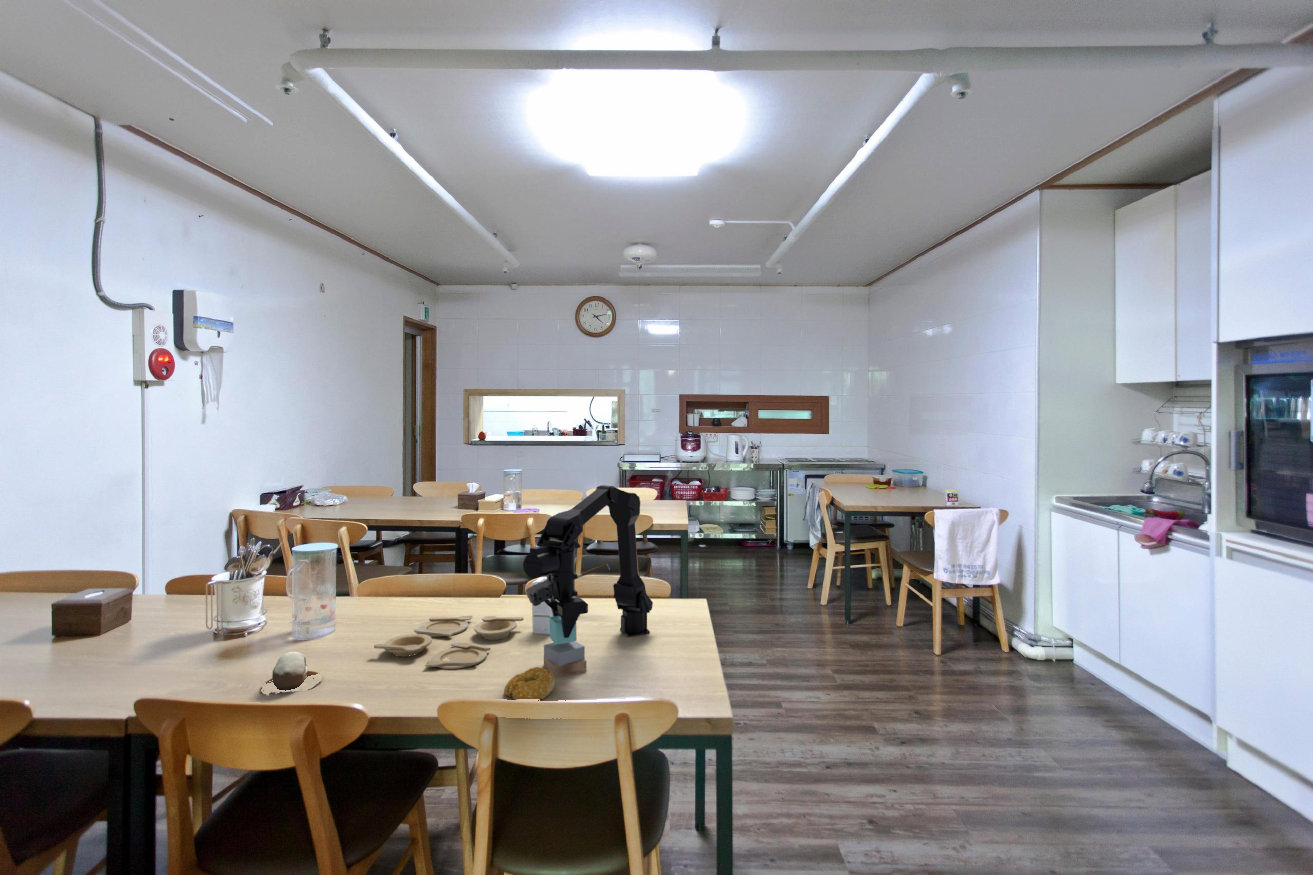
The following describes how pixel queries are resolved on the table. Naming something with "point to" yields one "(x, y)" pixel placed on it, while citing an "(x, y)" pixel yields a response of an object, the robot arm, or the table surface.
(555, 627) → the teal cube
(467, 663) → the tableware set
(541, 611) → the syrup box
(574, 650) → the grey square block
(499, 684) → the table surface
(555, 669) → the walnut slab
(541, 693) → the bagel
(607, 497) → the robot arm
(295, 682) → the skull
